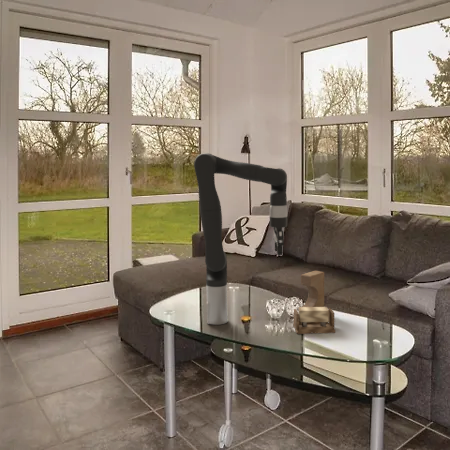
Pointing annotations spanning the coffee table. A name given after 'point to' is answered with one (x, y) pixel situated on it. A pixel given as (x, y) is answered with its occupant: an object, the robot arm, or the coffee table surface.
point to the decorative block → (314, 288)
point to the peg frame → (314, 324)
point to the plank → (313, 314)
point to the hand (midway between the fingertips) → (278, 253)
